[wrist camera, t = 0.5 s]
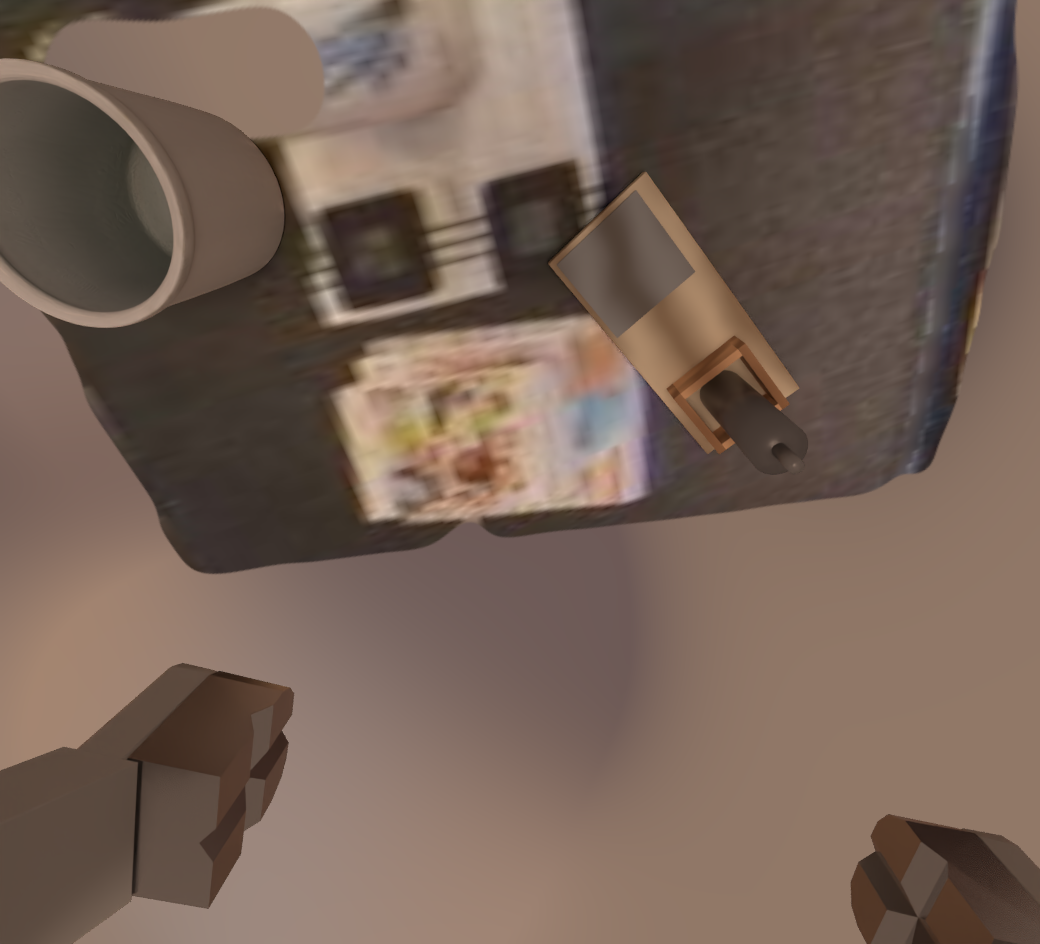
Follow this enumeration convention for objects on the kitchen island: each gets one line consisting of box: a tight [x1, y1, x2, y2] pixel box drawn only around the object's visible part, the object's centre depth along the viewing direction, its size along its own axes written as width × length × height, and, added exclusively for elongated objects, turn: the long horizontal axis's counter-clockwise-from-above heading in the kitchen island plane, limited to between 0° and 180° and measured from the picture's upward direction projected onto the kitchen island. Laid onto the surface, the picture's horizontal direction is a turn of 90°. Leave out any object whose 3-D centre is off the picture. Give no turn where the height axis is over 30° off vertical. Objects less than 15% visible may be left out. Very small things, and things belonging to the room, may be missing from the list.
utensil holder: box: [0, 59, 284, 328], centre depth 41 cm, size 15×15×18 cm
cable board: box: [548, 172, 799, 454], centre depth 52 cm, size 11×26×4 cm, turn 42°
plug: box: [700, 370, 808, 475], centre depth 48 cm, size 4×4×17 cm
